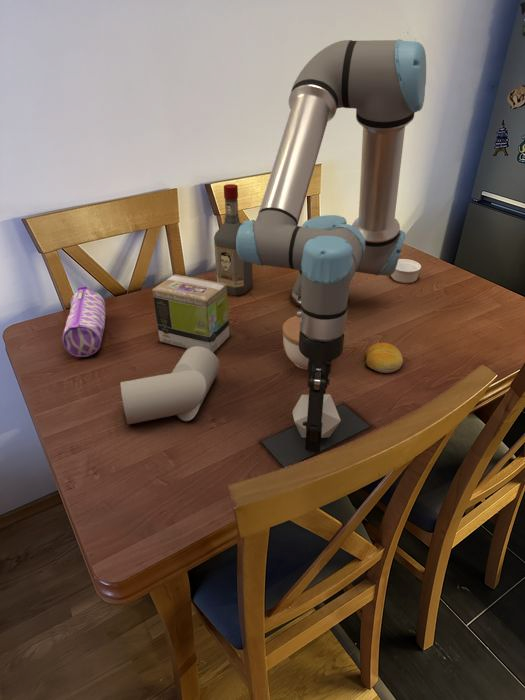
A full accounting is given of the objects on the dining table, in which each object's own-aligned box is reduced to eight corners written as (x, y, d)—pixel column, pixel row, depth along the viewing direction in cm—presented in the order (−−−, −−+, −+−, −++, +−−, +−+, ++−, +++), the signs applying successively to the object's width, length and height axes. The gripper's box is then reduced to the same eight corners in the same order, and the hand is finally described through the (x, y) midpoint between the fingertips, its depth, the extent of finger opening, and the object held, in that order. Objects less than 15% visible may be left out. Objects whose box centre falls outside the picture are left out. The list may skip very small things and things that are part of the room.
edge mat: (285, 469, 87) (285, 468, 87) (261, 442, 92) (261, 441, 92) (369, 427, 95) (369, 426, 95) (343, 404, 101) (343, 404, 101)
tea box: (230, 336, 124) (228, 283, 115) (211, 356, 116) (206, 301, 108) (180, 323, 129) (174, 271, 121) (158, 342, 121) (150, 288, 113)
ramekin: (422, 284, 147) (424, 271, 145) (392, 284, 147) (394, 271, 145) (414, 271, 154) (417, 258, 152) (386, 271, 155) (388, 258, 152)
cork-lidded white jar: (321, 383, 107) (324, 341, 101) (271, 366, 113) (272, 325, 106) (344, 355, 116) (349, 315, 110) (298, 340, 122) (299, 301, 115)
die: (324, 458, 89) (354, 413, 87) (282, 435, 88) (312, 389, 86) (318, 439, 98) (346, 398, 96) (280, 417, 97) (307, 376, 95)
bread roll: (365, 372, 110) (367, 358, 108) (365, 351, 118) (367, 336, 115) (403, 376, 109) (405, 361, 107) (401, 354, 116) (403, 340, 114)
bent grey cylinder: (199, 440, 91) (229, 376, 107) (182, 395, 86) (216, 335, 102) (118, 440, 97) (158, 380, 113) (97, 398, 91) (142, 341, 107)
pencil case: (72, 317, 132) (64, 285, 127) (108, 313, 134) (101, 281, 129) (66, 363, 114) (56, 328, 109) (107, 357, 116) (99, 323, 111)
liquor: (229, 279, 151) (224, 179, 134) (255, 285, 147) (253, 183, 131) (214, 291, 144) (206, 188, 127) (241, 298, 141) (237, 192, 124)
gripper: (305, 298, 91) (301, 391, 104) (291, 367, 73) (288, 471, 85) (346, 301, 90) (337, 395, 103) (342, 372, 72) (331, 476, 84)
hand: (314, 429), depth 94 cm, fingers closed on die, 10 cm apart
